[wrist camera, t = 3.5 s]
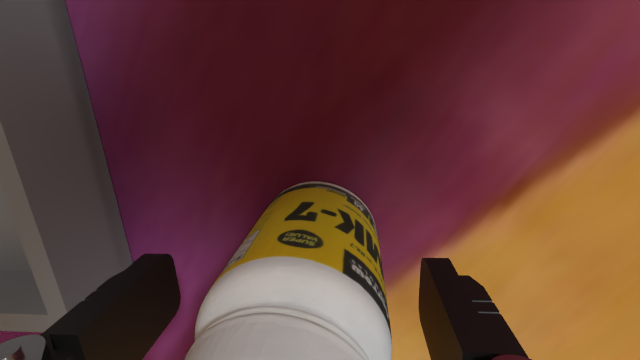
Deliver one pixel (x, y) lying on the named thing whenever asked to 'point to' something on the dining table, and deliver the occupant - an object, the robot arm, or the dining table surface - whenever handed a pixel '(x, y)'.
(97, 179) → the tray
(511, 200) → the dining table surface
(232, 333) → the supplement bottle
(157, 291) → the robot arm
